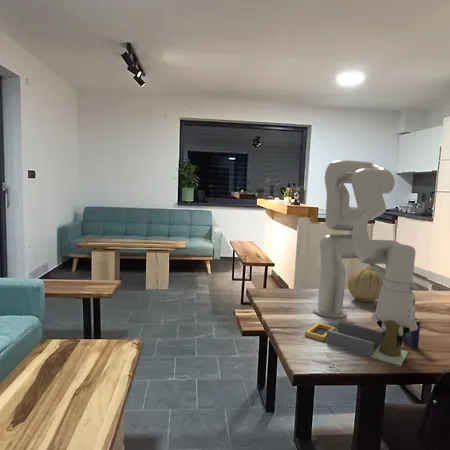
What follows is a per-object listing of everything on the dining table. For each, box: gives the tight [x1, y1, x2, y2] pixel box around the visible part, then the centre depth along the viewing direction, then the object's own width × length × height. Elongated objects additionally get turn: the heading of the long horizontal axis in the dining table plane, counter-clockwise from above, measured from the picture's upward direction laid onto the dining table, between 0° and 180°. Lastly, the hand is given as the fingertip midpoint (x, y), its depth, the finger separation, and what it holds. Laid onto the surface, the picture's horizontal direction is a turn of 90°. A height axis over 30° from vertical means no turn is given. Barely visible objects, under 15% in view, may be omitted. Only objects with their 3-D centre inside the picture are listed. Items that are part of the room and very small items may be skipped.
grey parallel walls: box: [325, 320, 382, 358], centre depth 117 cm, size 12×14×4 cm
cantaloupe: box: [347, 266, 384, 303], centre depth 163 cm, size 15×15×15 cm
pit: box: [304, 322, 337, 342], centre depth 123 cm, size 11×6×2 cm, turn 144°
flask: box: [402, 315, 421, 350], centre depth 119 cm, size 9×3×11 cm, turn 8°
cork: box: [379, 320, 402, 356], centre depth 110 cm, size 6×6×11 cm
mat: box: [371, 344, 409, 367], centre depth 110 cm, size 11×8×1 cm
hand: (391, 344), depth 110 cm, fingers closed on cork, 2 cm apart
